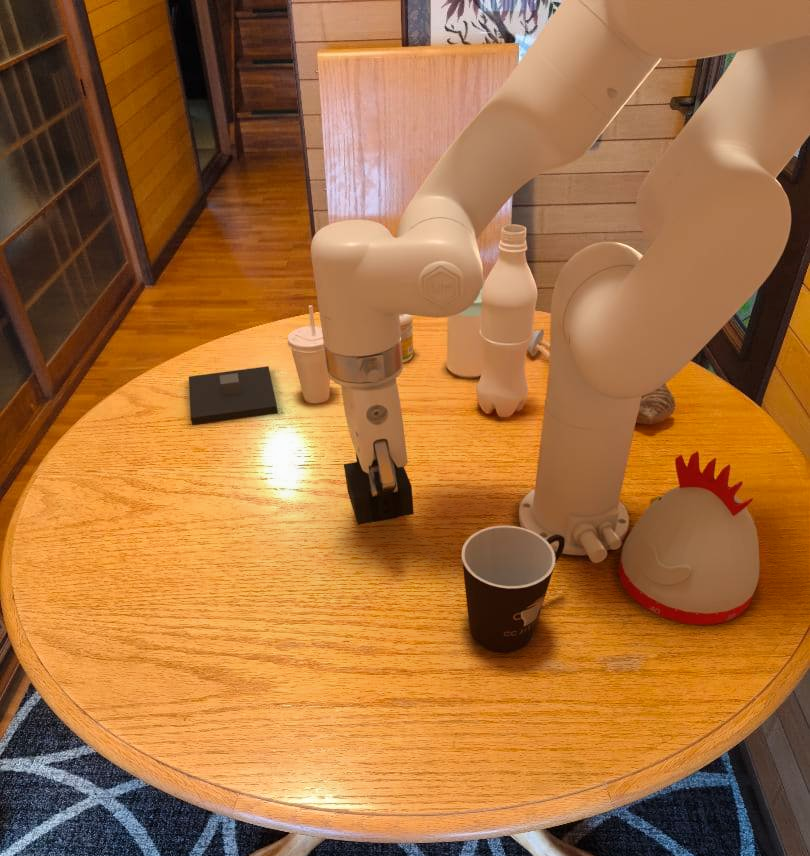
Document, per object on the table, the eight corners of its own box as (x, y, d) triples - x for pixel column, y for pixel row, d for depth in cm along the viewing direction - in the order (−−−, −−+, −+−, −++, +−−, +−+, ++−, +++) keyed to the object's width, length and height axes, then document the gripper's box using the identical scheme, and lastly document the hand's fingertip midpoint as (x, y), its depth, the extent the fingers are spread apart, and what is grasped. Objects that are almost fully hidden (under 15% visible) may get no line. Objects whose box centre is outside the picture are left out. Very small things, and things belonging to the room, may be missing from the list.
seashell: (636, 444, 102) (680, 422, 105) (645, 400, 97) (690, 379, 100) (589, 410, 108) (631, 390, 111) (595, 368, 103) (639, 348, 105)
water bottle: (467, 414, 107) (474, 233, 91) (487, 390, 112) (497, 215, 96) (515, 426, 105) (531, 243, 88) (533, 401, 110) (552, 223, 93)
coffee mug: (473, 669, 73) (477, 596, 66) (448, 606, 79) (450, 533, 73) (586, 646, 75) (601, 572, 68) (553, 586, 81) (564, 514, 75)
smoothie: (331, 410, 109) (322, 317, 100) (288, 406, 110) (276, 314, 101) (343, 387, 114) (335, 297, 104) (302, 384, 115) (291, 294, 106)
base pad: (277, 413, 109) (275, 393, 107) (192, 425, 107) (187, 405, 105) (269, 373, 118) (266, 354, 115) (190, 383, 116) (185, 364, 113)
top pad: (413, 514, 85) (411, 485, 83) (357, 525, 84) (353, 497, 82) (400, 481, 90) (398, 453, 87) (347, 491, 89) (343, 463, 86)
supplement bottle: (373, 352, 122) (370, 294, 115) (404, 345, 123) (402, 287, 117) (387, 367, 118) (384, 307, 112) (418, 360, 120) (418, 300, 113)
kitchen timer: (667, 519, 89) (697, 408, 79) (777, 579, 81) (826, 464, 72) (592, 574, 83) (614, 460, 73) (704, 646, 75) (747, 529, 65)
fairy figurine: (559, 357, 112) (485, 332, 116) (552, 385, 115) (481, 360, 119) (585, 326, 119) (515, 303, 123) (578, 353, 123) (510, 330, 126)
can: (494, 380, 114) (499, 303, 107) (447, 380, 115) (449, 304, 107) (490, 357, 120) (495, 283, 112) (445, 358, 120) (447, 284, 112)
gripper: (422, 392, 69) (430, 540, 81) (382, 313, 82) (394, 451, 94) (341, 406, 68) (361, 555, 80) (313, 325, 81) (334, 463, 93)
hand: (379, 498), depth 87 cm, fingers closed on top pad, 6 cm apart
